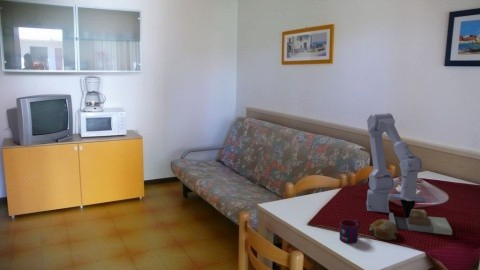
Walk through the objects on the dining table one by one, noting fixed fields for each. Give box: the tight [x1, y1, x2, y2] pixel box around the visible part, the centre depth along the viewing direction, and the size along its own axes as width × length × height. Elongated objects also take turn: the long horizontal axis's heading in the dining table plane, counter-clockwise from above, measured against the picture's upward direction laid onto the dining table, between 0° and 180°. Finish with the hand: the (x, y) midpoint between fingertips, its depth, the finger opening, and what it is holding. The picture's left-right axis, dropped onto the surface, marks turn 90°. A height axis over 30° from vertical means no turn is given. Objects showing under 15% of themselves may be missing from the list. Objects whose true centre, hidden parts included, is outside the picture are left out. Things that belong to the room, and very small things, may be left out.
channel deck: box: [388, 211, 453, 236], centre depth 154 cm, size 22×12×4 cm, turn 73°
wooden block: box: [410, 208, 426, 219], centre depth 153 cm, size 5×5×4 cm
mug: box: [339, 219, 360, 245], centre depth 142 cm, size 7×10×7 cm
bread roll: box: [368, 218, 398, 241], centre depth 146 cm, size 10×10×8 cm
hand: (406, 217), depth 155 cm, fingers closed
